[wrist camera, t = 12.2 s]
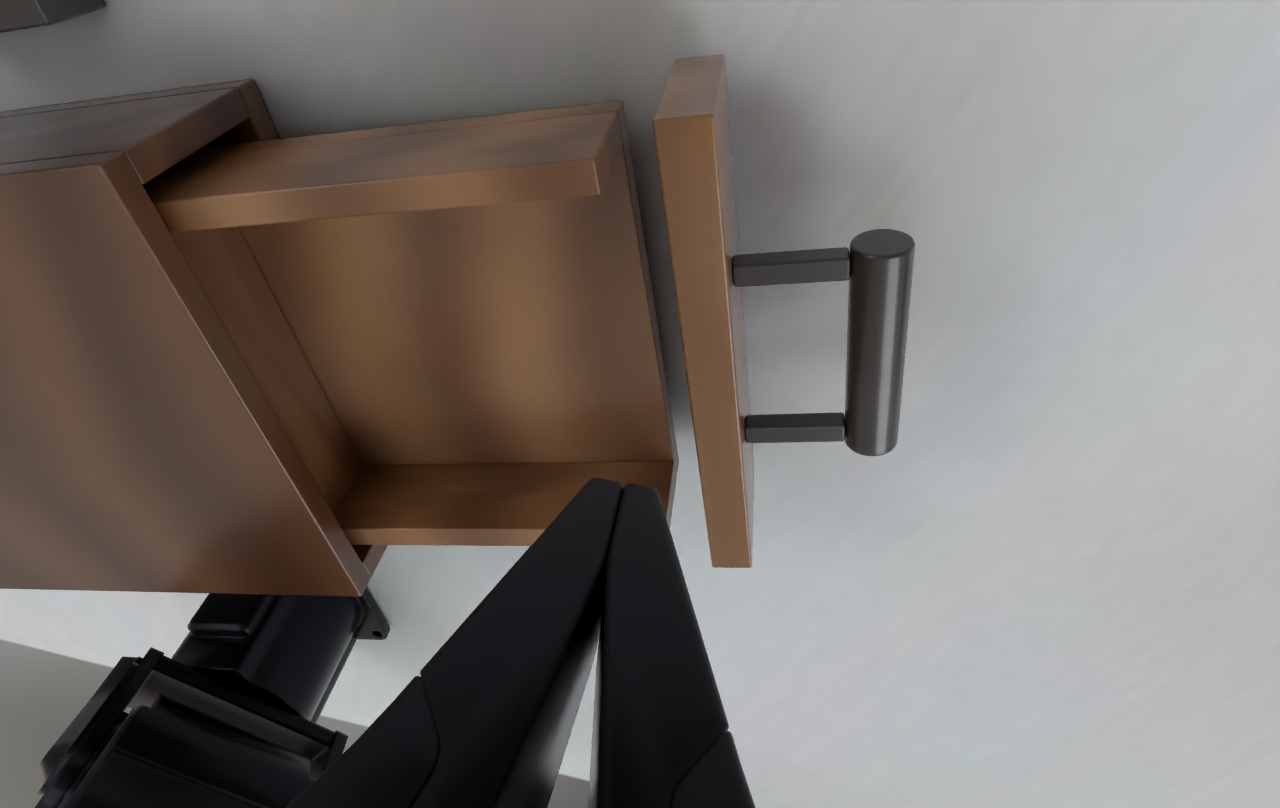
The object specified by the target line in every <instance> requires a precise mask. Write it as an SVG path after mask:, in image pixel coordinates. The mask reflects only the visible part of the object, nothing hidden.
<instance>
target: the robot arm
mask: <svg viewBox="0 0 1280 808" xmlns="http://www.w3.org/2000/svg"><path fill="white" fill-rule="evenodd" d="M188 629H189V631H190V632H189V634H188V635H187V637H186V638H185V640H184V641H183V642H182V644H181V645H180V647H179V648H178V650H177V651H176V653H175V654H174V655H173V657H172V658H171V659H170V658H168V657H166V656H164V655H163V654H164V653H163V652H161V651H159V650H156V649H154V648H152V647H151V648H150V650H149V651H148V652H147V654H146V655H145V657H144V658H141V657H138V658H135V657H122V658H121V659H120V661H119V662H118V663H117V665H116V666H115V667H114V669H113V670H112V671H111V673H110V674H109V676H108V677H107V678H106V680H105V681H104V682H103V683H102V685H101V686H100V687H99V689H98V690H97V692H96V693H95V694H94V695H93V697H92V698H91V699H90V700H89V702H88V703H87V704H86V706H85V707H84V708H83V709H82V710H81V711H80V713H79V714H78V715H77V716H76V718H75V719H74V720H73V721H72V723H71V724H70V725H69V726H68V728H67V729H66V730H65V731H64V733H63V734H62V735H61V736H60V737H59V739H58V740H57V741H56V743H55V744H54V745H53V746H52V747H51V749H50V750H49V751H48V753H47V754H46V756H45V757H44V758H43V760H42V761H41V769H42V774H43V780H44V785H43V786H42V788H41V789H40V791H39V792H38V794H39V795H41V796H43V797H42V798H41V800H40V801H39V803H38V804H37V805H36V807H35V808H547V806H548V803H549V800H550V797H551V794H552V791H553V788H554V784H555V781H556V778H557V775H558V772H559V769H560V765H561V762H562V759H563V756H564V753H565V750H566V746H567V743H568V740H569V737H570V734H571V731H572V727H573V724H574V721H575V718H576V715H577V712H578V708H579V705H580V702H581V699H582V696H583V693H584V689H585V686H586V683H587V680H588V677H589V674H590V670H591V667H592V664H593V660H594V657H595V653H596V649H597V645H598V640H599V645H598V655H597V666H596V682H595V699H594V716H593V733H592V751H591V768H590V785H589V802H588V808H755V805H754V802H753V799H752V796H751V793H750V790H749V787H748V784H747V781H746V778H745V775H744V772H743V770H742V767H741V763H740V760H739V757H738V753H737V750H736V747H735V744H734V740H733V737H732V734H731V733H730V732H729V731H728V728H729V725H728V722H727V718H726V715H725V712H724V708H723V705H722V702H721V698H720V695H719V692H718V688H717V685H716V682H715V678H714V675H713V672H712V668H711V665H710V662H709V659H708V655H707V652H706V649H705V645H704V642H703V639H702V635H701V632H700V629H699V625H698V622H697V619H696V615H695V612H694V609H693V605H692V602H691V599H690V596H689V592H688V589H687V586H686V582H685V579H684V576H683V572H682V569H681V566H680V562H679V559H678V556H677V552H676V549H675V546H674V542H673V539H672V536H671V533H670V529H669V526H668V523H667V519H666V516H665V513H664V509H663V506H662V503H661V499H660V496H659V493H658V491H657V489H656V488H654V487H651V486H645V485H639V484H633V483H628V484H626V485H625V486H624V488H623V485H622V483H621V482H619V481H614V480H608V479H602V478H592V479H590V480H589V481H588V482H587V483H586V484H585V485H584V486H583V487H582V489H581V490H580V491H579V492H578V493H577V494H576V495H575V496H574V498H573V499H572V500H571V501H570V502H569V503H568V504H567V506H566V507H565V508H564V509H563V510H562V511H561V512H560V513H559V515H558V516H557V517H556V518H555V519H554V520H553V521H552V523H551V524H550V525H549V526H548V527H547V528H546V529H545V530H544V532H543V533H542V534H541V535H540V536H539V537H538V538H537V540H536V541H535V542H534V543H533V544H532V545H531V546H530V547H529V549H528V550H527V551H526V552H525V553H524V554H523V555H522V557H521V558H520V559H519V560H518V561H517V562H516V563H515V564H514V566H513V567H512V568H511V569H510V570H509V571H508V572H507V574H506V575H505V576H504V577H503V578H502V579H501V580H500V581H499V583H498V584H497V585H496V586H495V587H494V588H493V589H492V591H491V592H490V593H489V594H488V595H487V596H486V597H485V598H484V600H483V601H482V602H481V603H480V604H479V605H478V606H477V608H476V609H475V610H474V611H473V612H472V613H471V614H470V615H469V617H468V618H467V619H466V620H465V621H464V622H463V623H462V625H461V626H460V627H459V628H458V629H457V630H456V631H455V632H454V634H453V635H452V636H451V637H450V638H449V639H448V640H447V642H446V643H445V644H444V645H443V646H442V647H441V648H440V649H439V651H438V652H437V653H436V654H435V655H434V656H433V657H432V659H431V660H430V661H429V662H428V663H427V664H426V665H425V666H424V668H423V669H422V670H421V672H420V674H421V677H420V676H416V677H414V679H413V680H412V681H411V682H410V683H409V684H408V685H407V686H406V688H405V689H404V690H403V691H402V692H401V693H400V694H399V696H398V697H397V698H396V699H395V700H394V701H393V702H392V703H391V704H390V706H389V707H388V708H387V709H386V710H385V711H384V712H383V713H382V714H381V715H380V716H379V717H378V718H377V719H376V721H375V722H374V723H373V724H372V725H371V726H370V727H369V728H368V729H367V730H366V731H365V732H364V733H363V734H362V735H361V737H360V738H359V739H358V740H357V741H356V742H355V743H354V744H353V745H352V746H351V747H350V748H349V749H348V750H346V751H345V752H344V753H343V750H344V747H345V744H346V741H347V738H348V735H346V734H344V733H341V732H339V731H335V732H333V731H331V730H329V729H327V728H324V727H322V726H320V725H318V724H316V722H317V720H318V718H319V716H320V714H321V712H322V710H323V708H324V705H325V703H326V701H327V699H328V697H329V695H330V693H331V691H332V689H333V687H334V685H335V683H336V681H337V679H338V677H339V675H340V673H341V671H342V669H343V666H344V664H345V662H346V660H347V658H348V656H349V654H350V652H351V650H352V648H353V646H354V644H355V642H356V640H357V639H374V640H383V639H386V638H387V636H388V633H389V631H390V627H389V625H388V623H387V622H386V620H385V618H384V617H383V615H382V613H381V612H380V610H379V608H378V607H377V605H376V603H375V601H374V600H373V598H372V596H371V595H370V593H369V591H368V590H367V588H365V590H364V592H363V594H362V596H317V595H272V594H228V593H210V594H209V595H208V596H207V598H206V599H205V601H204V602H203V604H202V605H201V606H200V608H199V609H198V611H197V612H196V614H195V615H194V616H193V618H192V619H191V621H190V622H189V624H188ZM127 707H129V708H132V710H131V711H130V713H129V714H128V713H126V712H124V711H125V709H126V708H127ZM342 753H343V754H342Z"/></svg>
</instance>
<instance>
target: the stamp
mask: <svg viewBox="0 0 1280 808" xmlns="http://www.w3.org/2000/svg"><path fill="white" fill-rule="evenodd" d="M104 6H105V4H104V2H103V1H102V0H0V33H1V32H7V31H14V30H20V29H27V28H33V27H39V26H46V25H51V24H54V23H57V22H61V21H64V20H67V19H70V18H73V17H76V16H79V15H82V14H86V13H89V12H92V11H95V10H98V9H101V8H103V7H104Z"/></svg>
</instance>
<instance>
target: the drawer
mask: <svg viewBox="0 0 1280 808" xmlns="http://www.w3.org/2000/svg"><path fill="white" fill-rule="evenodd" d="M653 129H654V136H655V144H656V151H657V158H658V166H659V173H660V181H661V188H662V196H663V203H664V211H665V218H666V226H667V233H668V241H669V248H670V255H671V263H672V270H673V278H674V285H675V293H676V300H677V308H678V315H679V323H680V330H681V337H682V345H683V352H684V360H685V367H686V375H687V382H688V390H689V397H690V405H691V412H692V420H693V427H694V434H695V442H696V449H697V457H698V464H699V472H700V479H701V487H702V494H703V502H704V509H705V516H706V524H707V531H708V539H709V546H710V554H711V561H712V566H713V567H723V568H751V566H752V543H753V498H754V460H753V446H752V443H779V442H830V441H844V440H845V442H846V444H847V446H848V447H849V448H850V449H851V450H853V451H854V452H856V453H858V454H861V455H866V456H879V455H883V454H886V453H888V452H890V451H891V450H892V449H893V448H894V447H895V446H896V444H897V440H898V428H899V417H900V406H901V395H902V384H903V372H904V361H905V350H906V339H907V328H908V316H909V305H910V294H911V283H912V271H913V260H914V249H915V243H914V240H913V238H912V237H911V236H910V235H908V234H906V233H904V232H901V231H898V230H891V229H876V230H870V231H866V232H863V233H861V234H859V235H857V236H856V237H854V238H853V240H852V242H851V244H850V253H849V249H848V248H846V247H843V248H829V249H814V250H800V251H785V252H771V253H756V254H742V255H739V250H738V236H737V222H736V208H735V194H734V179H733V165H732V151H731V137H730V123H729V109H728V95H727V81H726V67H725V57H724V55H722V54H720V55H712V56H704V57H695V58H687V59H679V60H676V61H674V64H673V67H672V70H671V72H670V75H669V78H668V81H667V84H666V87H665V89H664V92H663V95H662V98H661V101H660V104H659V106H658V109H657V112H656V115H655V118H654V121H653ZM142 185H143V187H144V188H145V190H146V192H147V194H148V195H149V197H150V199H151V201H152V202H153V204H154V206H155V207H156V209H157V211H158V213H159V214H160V216H161V218H162V219H163V221H164V223H165V225H166V226H167V228H168V230H169V232H170V233H171V235H172V237H173V238H174V240H175V242H176V244H177V245H178V247H179V249H180V250H181V252H182V254H183V256H184V257H185V259H186V261H187V263H188V264H189V266H190V268H191V269H192V271H193V273H194V275H195V276H196V278H197V280H198V281H199V283H200V285H201V287H202V288H203V290H204V292H205V293H206V295H207V297H208V299H209V300H210V302H211V304H212V306H213V307H214V309H215V311H216V312H217V314H218V316H219V318H220V319H221V321H222V323H223V324H224V326H225V328H226V330H227V331H228V333H229V335H230V337H231V338H232V340H233V342H234V343H235V345H236V347H237V349H238V350H239V352H240V354H241V355H242V357H243V359H244V361H245V362H246V364H247V366H248V368H249V369H250V371H251V373H252V374H253V376H254V378H255V380H256V381H257V383H258V385H259V386H260V388H261V390H262V392H263V393H264V395H265V397H266V398H267V400H268V402H269V404H270V405H271V407H272V409H273V411H274V412H275V414H276V416H277V417H278V419H279V421H280V423H281V424H282V426H283V428H284V429H285V431H286V433H287V435H288V436H289V438H290V440H291V442H292V443H293V445H294V447H295V448H296V450H297V452H298V454H299V455H300V457H301V459H302V460H303V462H304V464H305V466H306V467H307V469H308V471H309V473H310V474H311V476H312V478H313V479H314V481H315V483H316V485H317V486H318V488H319V490H320V491H321V493H322V495H323V497H324V498H325V500H326V502H327V503H328V505H329V507H330V509H331V510H332V512H333V514H334V516H335V517H336V519H337V521H338V522H339V524H340V526H341V528H342V529H343V531H344V533H345V534H346V536H347V538H348V540H349V541H350V543H351V545H475V546H531V545H532V544H533V543H534V542H535V541H536V540H537V538H538V537H539V536H540V535H541V534H542V533H543V532H544V530H545V529H546V528H547V527H548V526H549V525H550V524H551V523H552V521H553V520H554V519H555V518H556V517H557V516H558V515H559V513H560V512H561V511H562V510H563V509H564V508H565V507H566V506H567V504H568V503H569V502H570V501H571V500H572V499H573V498H574V496H575V495H576V494H577V493H578V492H579V491H580V490H581V489H582V487H583V486H584V485H585V484H586V483H587V482H588V481H589V480H590V479H592V478H602V479H608V480H614V481H619V482H621V483H622V485H623V488H624V486H625V485H626V484H628V483H633V484H639V485H645V486H651V487H654V488H656V489H657V491H658V493H659V496H660V499H661V503H662V506H663V509H664V513H665V516H666V519H667V523H668V526H669V529H670V522H671V515H672V507H673V500H674V492H675V485H676V476H677V471H678V463H679V459H678V453H677V447H676V440H675V434H674V427H673V421H672V414H671V408H670V402H669V395H668V389H667V382H666V376H665V370H664V363H663V357H662V350H661V344H660V338H659V331H658V325H657V318H656V312H655V305H654V299H653V293H652V286H651V280H650V273H649V267H648V261H647V254H646V248H645V241H644V235H643V228H642V222H641V216H640V209H639V203H638V196H637V190H636V184H635V177H634V171H633V164H632V158H631V152H630V145H629V139H628V132H627V126H626V119H625V113H624V107H623V102H622V101H613V102H604V103H596V104H587V105H578V106H569V107H560V108H551V109H542V110H533V111H524V112H516V113H507V114H498V115H489V116H480V117H471V118H462V119H453V120H445V121H436V122H427V123H418V124H409V125H400V126H391V127H382V128H373V129H365V130H356V131H347V132H338V133H329V134H320V135H311V136H302V137H293V138H285V139H276V140H267V141H258V142H249V143H240V144H231V145H222V146H213V147H205V148H201V149H199V150H198V151H196V152H194V153H193V154H191V155H190V156H188V157H186V158H185V159H183V160H182V161H180V162H178V163H177V164H175V165H174V166H172V167H170V168H169V169H167V170H166V171H164V172H162V173H161V174H159V175H158V176H156V177H154V178H153V179H151V180H150V181H148V182H146V183H145V184H142ZM843 280H849V297H848V330H847V363H846V396H845V418H844V414H843V413H807V414H770V415H750V404H749V390H748V376H747V362H746V348H745V334H744V320H743V306H742V292H741V287H744V286H761V285H777V284H794V283H810V282H827V281H843Z"/></svg>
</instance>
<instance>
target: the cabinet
mask: <svg viewBox="0 0 1280 808" xmlns="http://www.w3.org/2000/svg"><path fill="white" fill-rule="evenodd" d="M276 139H279V137H278V134H277V132H276V130H275V128H274V125H273V123H272V121H271V119H270V116H269V114H268V112H267V110H266V107H265V105H264V103H263V101H262V98H261V96H260V94H259V92H258V89H257V87H256V85H255V83H254V81H253V80H249V79H248V80H241V81H233V82H225V83H218V84H210V85H203V86H195V87H187V88H180V89H172V90H164V91H157V92H149V93H142V94H134V95H126V96H119V97H111V98H104V99H96V100H88V101H81V102H73V103H66V104H58V105H50V106H43V107H35V108H27V109H20V110H12V111H5V112H0V588H5V589H50V590H94V591H139V592H183V593H228V594H272V595H317V596H362V594H363V592H364V590H365V588H366V586H367V584H368V582H369V580H370V577H372V575H373V573H374V571H375V569H376V567H377V565H378V563H379V561H380V559H381V557H382V555H383V553H384V551H385V549H386V547H387V545H351V543H350V541H349V540H348V538H347V536H346V534H345V533H344V531H343V529H342V528H341V526H340V524H339V522H338V521H337V519H336V517H335V516H334V514H333V512H332V510H331V509H330V507H329V505H328V503H327V502H326V500H325V498H324V497H323V495H322V493H321V491H320V490H319V488H318V486H317V485H316V483H315V481H314V479H313V478H312V476H311V474H310V473H309V471H308V469H307V467H306V466H305V464H304V462H303V460H302V459H301V457H300V455H299V454H298V452H297V450H296V448H295V447H294V445H293V443H292V442H291V440H290V438H289V436H288V435H287V433H286V431H285V429H284V428H283V426H282V424H281V423H280V421H279V419H278V417H277V416H276V414H275V412H274V411H273V409H272V407H271V405H270V404H269V402H268V400H267V398H266V397H265V395H264V393H263V392H262V390H261V388H260V386H259V385H258V383H257V381H256V380H255V378H254V376H253V374H252V373H251V371H250V369H249V368H248V366H247V364H246V362H245V361H244V359H243V357H242V355H241V354H240V352H239V350H238V349H237V347H236V345H235V343H234V342H233V340H232V338H231V337H230V335H229V333H228V331H227V330H226V328H225V326H224V324H223V323H222V321H221V319H220V318H219V316H218V314H217V312H216V311H215V309H214V307H213V306H212V304H211V302H210V300H209V299H208V297H207V295H206V293H205V292H204V290H203V288H202V287H201V285H200V283H199V281H198V280H197V278H196V276H195V275H194V273H193V271H192V269H191V268H190V266H189V264H188V263H187V261H186V259H185V257H184V256H183V254H182V252H181V250H180V249H179V247H178V245H177V244H176V242H175V240H174V238H173V237H172V235H171V233H170V232H169V230H168V228H167V226H166V225H165V223H164V221H163V219H162V218H161V216H160V214H159V213H158V211H157V209H156V207H155V206H154V204H153V202H152V201H151V199H150V197H149V195H148V194H147V192H146V190H145V188H144V187H143V185H142V184H145V183H146V182H148V181H150V180H151V179H153V178H154V177H156V176H158V175H159V174H161V173H162V172H164V171H166V170H167V169H169V168H170V167H172V166H174V165H175V164H177V163H178V162H180V161H182V160H183V159H185V158H186V157H188V156H190V155H191V154H193V153H194V152H196V151H198V150H199V149H201V148H205V147H213V146H222V145H231V144H240V143H249V142H258V141H267V140H276Z"/></svg>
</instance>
